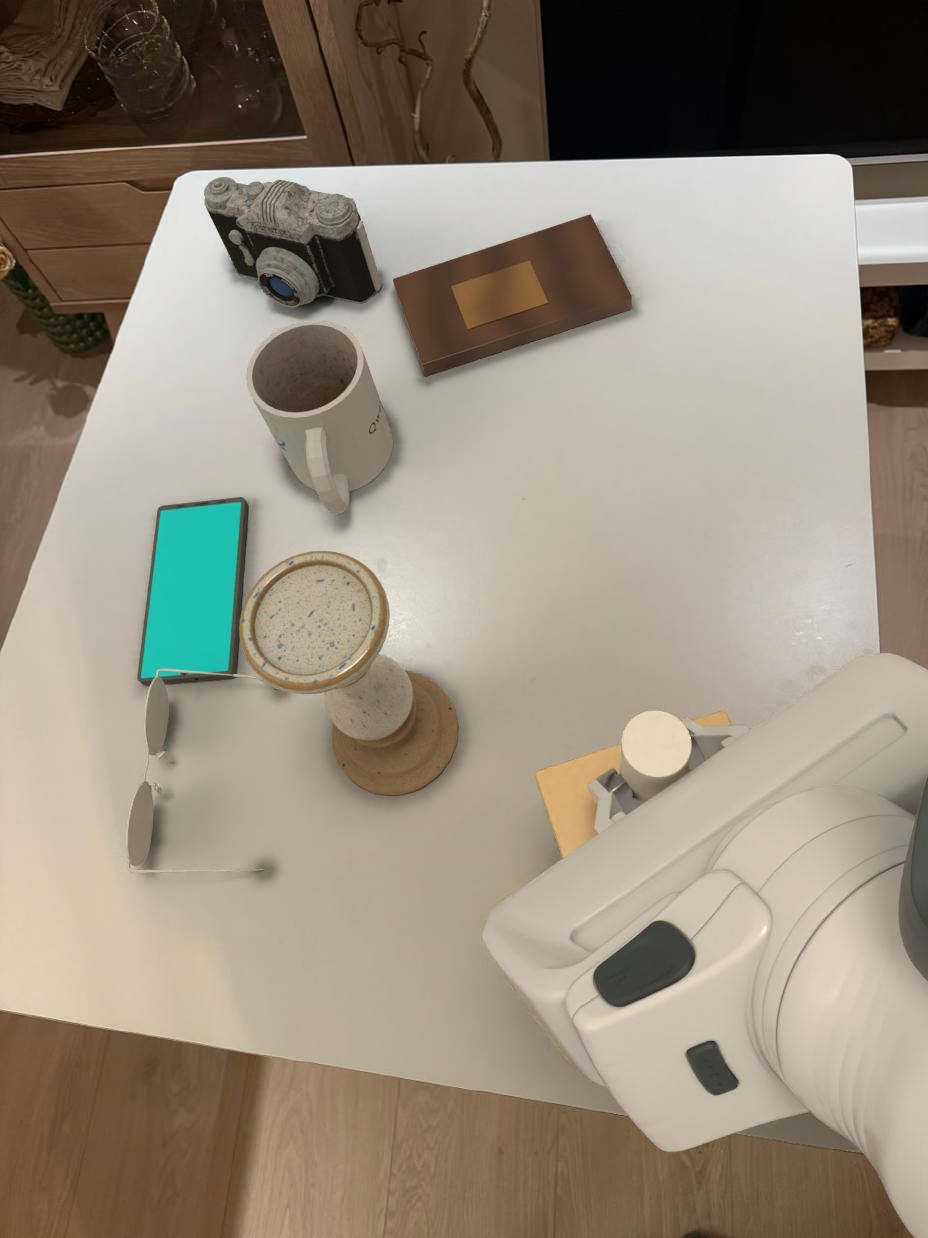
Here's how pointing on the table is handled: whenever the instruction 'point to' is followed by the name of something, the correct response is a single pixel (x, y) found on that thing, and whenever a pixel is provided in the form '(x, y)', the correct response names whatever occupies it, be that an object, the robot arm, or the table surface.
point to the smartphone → (194, 591)
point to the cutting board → (511, 294)
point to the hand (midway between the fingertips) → (641, 762)
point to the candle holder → (348, 669)
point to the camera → (294, 240)
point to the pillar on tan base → (643, 760)
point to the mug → (321, 408)
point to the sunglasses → (142, 800)
